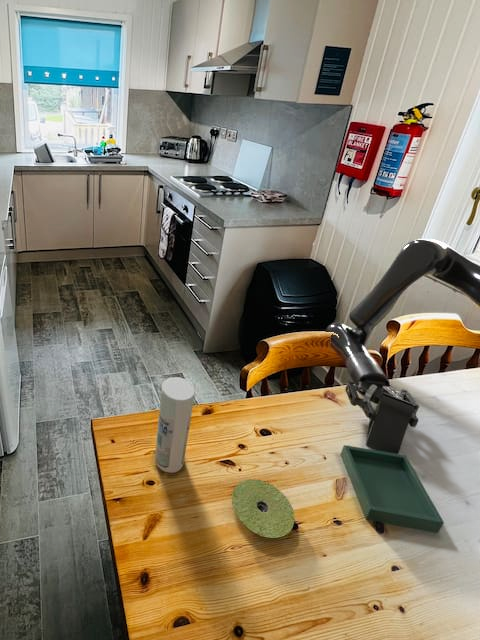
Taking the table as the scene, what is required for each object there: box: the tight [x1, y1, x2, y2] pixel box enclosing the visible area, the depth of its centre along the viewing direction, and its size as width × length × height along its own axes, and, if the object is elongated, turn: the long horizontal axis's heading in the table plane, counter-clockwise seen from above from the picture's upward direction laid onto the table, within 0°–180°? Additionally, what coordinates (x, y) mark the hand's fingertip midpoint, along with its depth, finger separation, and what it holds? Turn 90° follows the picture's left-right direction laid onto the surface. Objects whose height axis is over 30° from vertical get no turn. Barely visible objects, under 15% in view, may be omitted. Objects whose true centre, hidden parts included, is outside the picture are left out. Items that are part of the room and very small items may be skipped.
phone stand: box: [365, 393, 414, 454], centre depth 90 cm, size 9×6×12 cm, turn 145°
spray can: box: [154, 376, 196, 474], centre depth 81 cm, size 6×6×20 cm
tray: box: [340, 444, 445, 534], centre depth 80 cm, size 13×15×3 cm
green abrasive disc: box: [231, 478, 295, 539], centre depth 75 cm, size 11×11×2 cm
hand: (394, 421), depth 89 cm, fingers open, 8 cm apart
